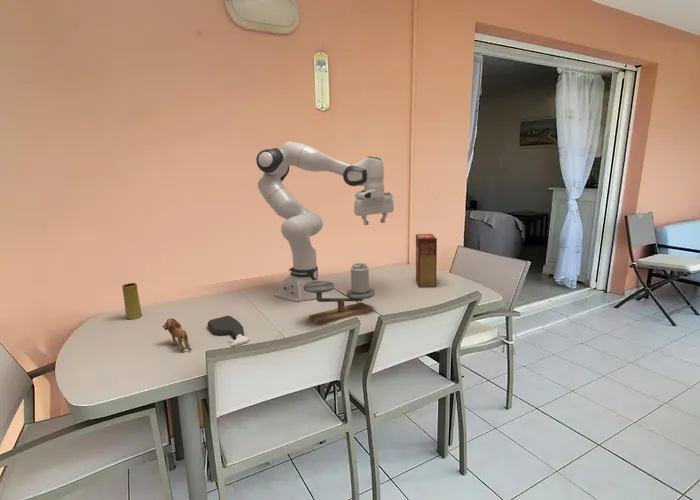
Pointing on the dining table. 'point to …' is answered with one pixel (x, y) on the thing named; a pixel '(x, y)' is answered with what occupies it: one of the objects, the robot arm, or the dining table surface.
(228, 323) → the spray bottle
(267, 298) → the dining table surface
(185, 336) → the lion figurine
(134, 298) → the vase
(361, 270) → the can
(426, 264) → the food packaging
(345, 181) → the robot arm
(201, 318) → the dining table surface
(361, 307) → the scale
